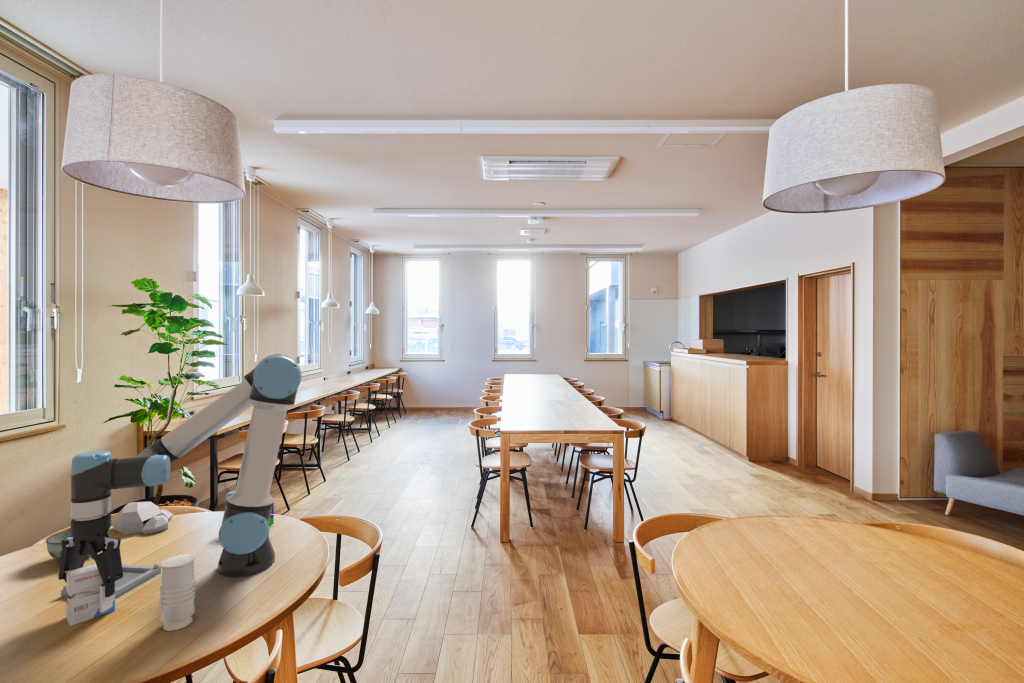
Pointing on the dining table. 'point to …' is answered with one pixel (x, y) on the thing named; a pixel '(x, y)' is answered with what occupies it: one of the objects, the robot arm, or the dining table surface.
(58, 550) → the bowl
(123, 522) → the rock
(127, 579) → the grey square tray
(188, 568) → the white ribbed cylinder
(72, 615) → the ink box
